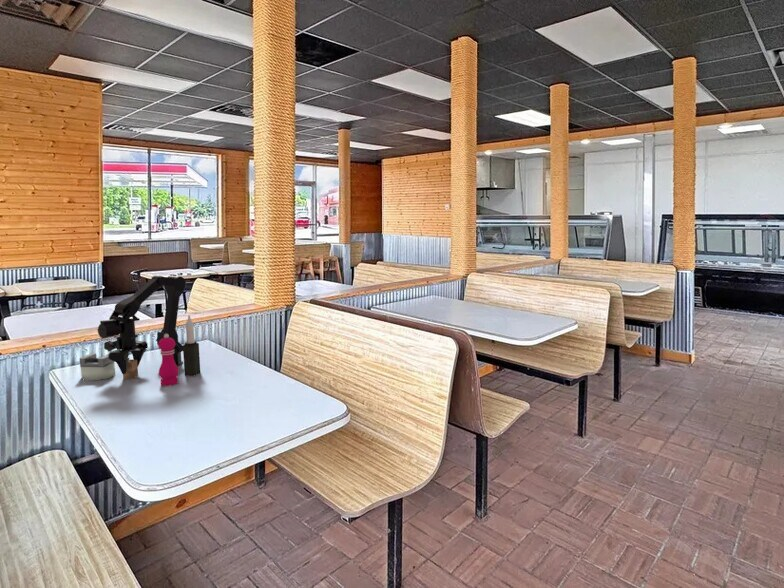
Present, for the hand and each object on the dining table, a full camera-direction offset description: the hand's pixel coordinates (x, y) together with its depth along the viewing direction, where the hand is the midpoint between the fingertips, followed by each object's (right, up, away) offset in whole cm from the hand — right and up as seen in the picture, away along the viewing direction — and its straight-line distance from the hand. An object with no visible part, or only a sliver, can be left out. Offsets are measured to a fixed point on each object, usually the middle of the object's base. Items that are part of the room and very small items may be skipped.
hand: (130, 370), depth 205 cm
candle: (+23, -2, +5) cm, 24 cm away
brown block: (0, -3, 0) cm, 3 cm away
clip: (-14, +2, +1) cm, 14 cm away
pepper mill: (+19, -4, -6) cm, 20 cm away
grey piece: (-14, -3, +2) cm, 14 cm away
